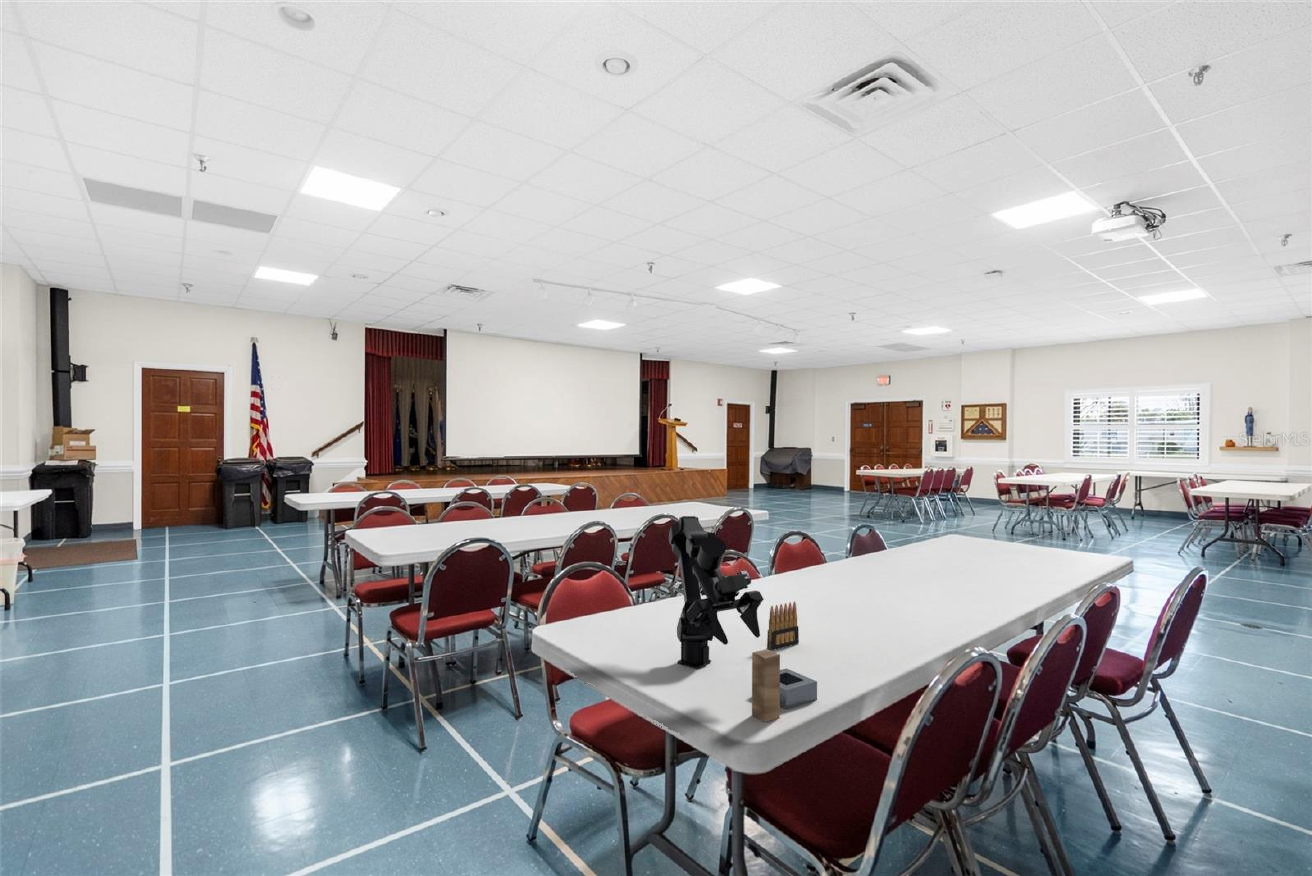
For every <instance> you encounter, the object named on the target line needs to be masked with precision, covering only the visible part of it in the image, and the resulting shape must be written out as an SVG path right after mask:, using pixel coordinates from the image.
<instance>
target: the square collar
mask: <svg viewBox="0 0 1312 876" xmlns="http://www.w3.org/2000/svg"><path fill="white" fill-rule="evenodd" d="M813 700H814V701H817V700H818V681H817V680H815V679H813V678H810V677H807V676H806V675H804V674H801V673H798V672H796V671H795V670H791V669H790V668H782V669H780V708H784V709H786V710H787V709H791V708H794V707H798V706H801V705H804V704H808V703H811V702H813ZM807 702H808V703H807Z"/></svg>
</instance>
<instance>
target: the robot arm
mask: <svg viewBox="0 0 1312 876" xmlns="http://www.w3.org/2000/svg"><path fill="white" fill-rule="evenodd" d="M668 533H669V534H668V543H669V545H671V550H672V553H673V555H674V556H675V557H677V559H678V560H679V569H680V576H681V583H682V593H683V600H684V605H683V607H682V610H681V613H680V617H678V622H677V627H676V637H677V639H678V641H679V642H680V659H679V660H677V661H676V662H677V664H679V665H683V666H686V667H691V668H694V669H700V668H702V667H704V666H706V665H708V664H710V663H711V662H712V660H711V659H710V646H709V644H708V643H709V642H712V641H713V640H714V638H715V639H717V640H718V641H719V642H721V644H723V645H726V646H727V644H728V643H729V640H728V638H727V635H726V633H725V631H724V629H723V627H722V625H721V623H720V621H719V618H718V612H719V613H720V612H722V611H723V612H724V611H730V610H735V609H736V611H737V613H738V614H740V615H739V618H740V619H741V620H742V622H743V623H744V624H745V625H746V627H747V628H748V630H749V631H750V632H751V634H753V635H754V637H755V638H756V639H758V638H759V637H760V636H761V632H760V625H759V621H758V620H759V619H758V608H759V607H760V606H761V604H762V602H763V601H764V597H763V595H762V593H761V592H760V591H759V590H751V591H744V593H743V594H742V595H741V596H740V598H738V599H736V597H738V596H739V595H740V592H739V591H741V590H744V589H745V590H746V589H747V590H748V589H749V585H751V584H752V579H751V576H750V574H749V572H748V571H747V570H741V571H738V572H736V574H731V575H729V576H728V575H724V574H723V573H722V570H721V569H720V567H721V566H722V563H723V560H724V557H725V554H726V551H727V544H726V543H725V541H724V540H723V539H722V538H720V537H719V536H716V535H717V534H716V532H712V531H708V530H707V531H706V530H705V529H704V527H703V526H702V525H701V523H700V521H699V517H698V516H696V515H686V516H685V515H682V516H680V517H679V519H678V521H677V522H675V523H674V524H672V525H670V529H669V532H668ZM700 586H701V587H700ZM700 588H701V589H700ZM704 596H705V597H706V598H702V597H704Z"/></svg>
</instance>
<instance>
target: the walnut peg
mask: <svg viewBox="0 0 1312 876" xmlns="http://www.w3.org/2000/svg"><path fill="white" fill-rule="evenodd" d="M780 658H781V655H780V654H779V653H777V652H774V651H773V650H770V649H767V648H766V649H761V650H758V651H754V652H752V654H751V659H752V660H751V662H752V663H751V664H752V665H751V716H752V717H754V718H756V719H758V720H760V721H761V720H762V721H761V722H764V723H768V722H771V721H770V720H772V721H774V720H777V718H778V719H780V713H781V711H780V709H781V706H780V670H781V659H780ZM767 721H768V722H767Z"/></svg>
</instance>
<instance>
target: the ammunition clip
mask: <svg viewBox="0 0 1312 876" xmlns="http://www.w3.org/2000/svg"><path fill="white" fill-rule="evenodd" d="M796 603H797V602H796V601H793V603H791V601H789V603H788V604H787V602H785V603H784V605H783V604H782V603H780V604H779V606H778V604H775V607H774V606H773V605H770V609H769V619H768V629H767V640H766V641H767V644H766V649H767V650H770V651H774V650H775V649H776V650H779V649H778V648H780V649H783V648H782V647H784V648H787V647H791V646H790V645H792V646H795V645H794V644H796V645H798V644H797V643H800V638H799V625H798V614H797V613H798V612H797V604H796Z"/></svg>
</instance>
